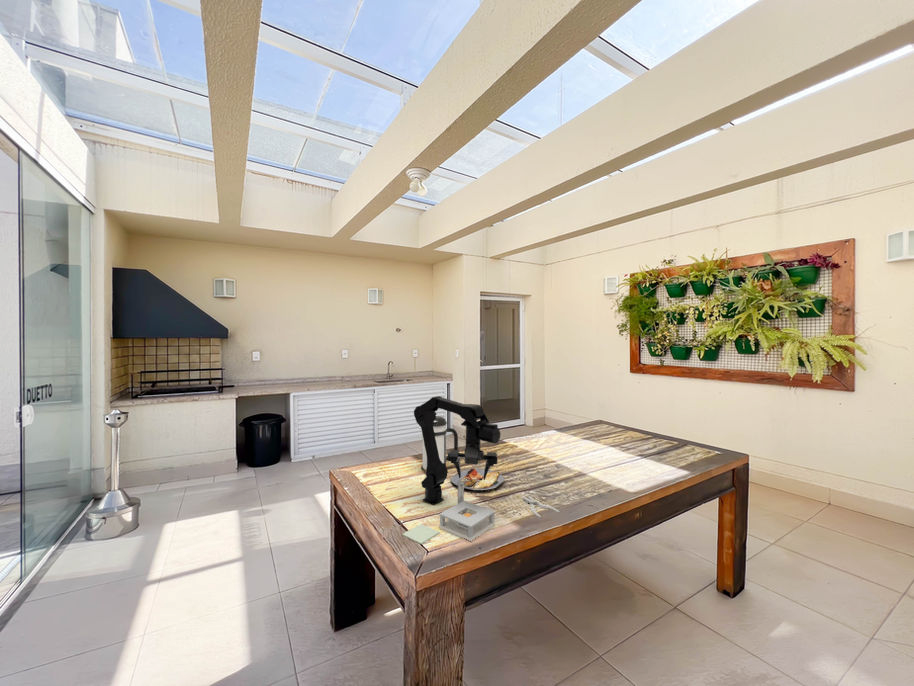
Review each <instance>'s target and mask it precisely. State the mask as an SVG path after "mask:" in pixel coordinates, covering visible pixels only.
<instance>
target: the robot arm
mask: <svg viewBox="0 0 914 686" xmlns="http://www.w3.org/2000/svg"><path fill="white" fill-rule="evenodd" d="M439 409H441V410H443V411H446V412H450V413H453V414H456V415H458V416H460V418H461V419H463V420H464V421H463V422H461V424H460V425H461V426H463V427H465V448H464V453H461V452H460V450H459V449H458V450H454V449H449V451H448V452H447V456H448V459H447V460H446V463H442V462H441V460H440V458H439V453H438V448H437V444H436V439H435V434H434V429H433V422H434V418H435V415H434V412H437V411H438V410H439ZM413 416H414V419H415V422H416V424H417V425H418V426H419V427H421V429H420V430H421V435H422V434H423V439H424V444H425V449H426V455H427V460H428V465H427V469H426V470H425V475H426V476H425V477H424V479H423V480H421V482H420V483H421V487H422V488H423V489H424V494H425V496H424V497H423V498H422V501H423V502H425V503H428V504H430V505H432V506H433V505H436V504H438V503H440V502H442V501H444V500H445V498H443V489H442V485H443V484H445V480H446V479H448V473H449V470H448V467H447V461H448V462H450V464H453V465H454V467H455V469H456V472H457V473H458V475H459V479H460V478H461V471H462V470H461V468H462V467H461V459H463V460H464V464H465V465H478V463H479V462H481V461H485V466H484V469H485V471H484V480H485V478H486V475H487V472H488V470H490V468H491V467H494V466H495V465H497V464H498V453H497V452H496V451H495V452H493V451H487V452H486V454H484V453H485V452H484V451H485V450H481V443H482V442H485V443H489V444H494V445H497V444H498V443H499V441H500V439H501V430H500V428H498V424H495V423H490V421H489V419H488V417H487V416H486V413H485V411H484V409H483V406H482V405H480V404H472V403H471V404H470V403H467V404H466V403H461V402H457V401H454V400H452V399H448V398H446V397H443V396H441V395H440V396H439V395H437V396H433V397H431V398H430V399H429V400H427V401H425V402H424V403H422V404H421V405H418V406H416V407H415V408H414V410H413ZM481 441H482V442H481ZM447 470H448V471H447Z"/></svg>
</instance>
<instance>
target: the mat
mask: <svg viewBox="0 0 914 686" xmlns="http://www.w3.org/2000/svg"><path fill="white" fill-rule="evenodd" d="M440 533H441V532H440V531H438V530H436V529H434V528H432V527H429V526H427V525H424V524H423V523H420V524H418V525H416V526H415V527H412V528H410V529H408V530H407V531H405V532H403V533H402V534H401V535H402V536H403V537H405V538H406V539H410V540H411V541H413V542H415V543H417V544H419V545H423V544H424V543H426V542H428V541H430V540H431V539H432V538H435V537H436V536H437V535H439V534H440Z"/></svg>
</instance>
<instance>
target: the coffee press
mask: <svg viewBox="0 0 914 686" xmlns="http://www.w3.org/2000/svg"><path fill="white" fill-rule="evenodd" d="M434 415H435V418H434V422H433V429H434V434H435V439H436V444H437V448H438V453H439V458H440V460H441V462H442V463H446V464H447V459H448V455H447V433H452V434H453V450H459V437H458V432H457V431H456V429H454V428H451V427H448V428H447V424H448V422H447V420H446V419H445V417H443V416H440V415H439V416H438V415H437V411H435V412H434ZM419 430H422V429H421V427H420V426H419ZM421 435H422V439H421V440H422V441H421V442H422V445H421V447H422V453H421V454H422V458H421V459H422V464H421V467H420V469H421V470H425V471H426V469H427V465H428V460H427V455H426V449H425V444H424V439H423V434H422V433H421ZM422 468H423V469H422ZM447 471H448V472H449V470H448V469H447Z"/></svg>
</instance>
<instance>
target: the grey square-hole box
mask: <svg viewBox="0 0 914 686" xmlns="http://www.w3.org/2000/svg"><path fill="white" fill-rule="evenodd" d="M468 511H469V512H468ZM465 513H469V514H471V516H470V517H467V516H464V514H465ZM495 513H496V512H495V510H493V509H489V508H486V507H484V506H481V505H478V504H475V503H472V502H469V501H466V500H464V501H462V502H460V503H458V502H457V503H456V504H455V505H453V506H451V507H449V508H447V509H445V510H444V511H442V512H440V513H439V515H438V516H439V525H438V526H439V527H438V528H439V529H441V530H443V531H446V532H448V533H450V534H451V535H455V536H456V537H459V538H461V537H462V539H464V538H465V539H464V540H466V539H467V540H466V541H468V540H470V541H471V542H473V541H474V540H476V539H478V538H479V537H481V534H482V535H483V534H485V533H486V532H487V531H489V530H491V528H493V527H494V526H495V525H496V523H495ZM488 518H489V519H488ZM446 519H447V520H446ZM478 536H479V537H478ZM475 538H476V539H475ZM472 540H473V541H472ZM470 541H469V542H470Z"/></svg>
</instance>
